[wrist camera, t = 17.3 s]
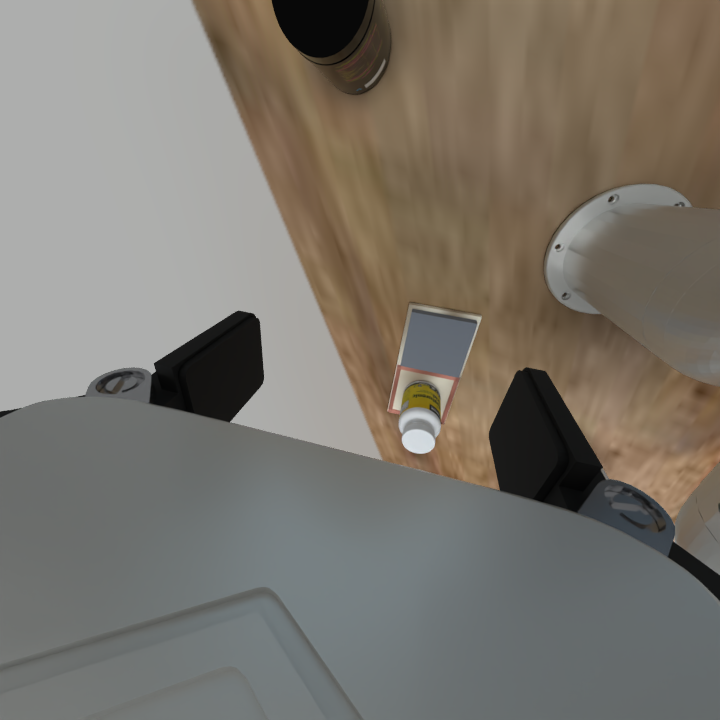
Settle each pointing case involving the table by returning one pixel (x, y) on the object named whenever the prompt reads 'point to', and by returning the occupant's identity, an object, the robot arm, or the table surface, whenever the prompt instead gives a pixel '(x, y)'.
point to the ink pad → (437, 342)
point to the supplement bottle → (420, 416)
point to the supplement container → (339, 38)
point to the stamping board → (410, 375)
